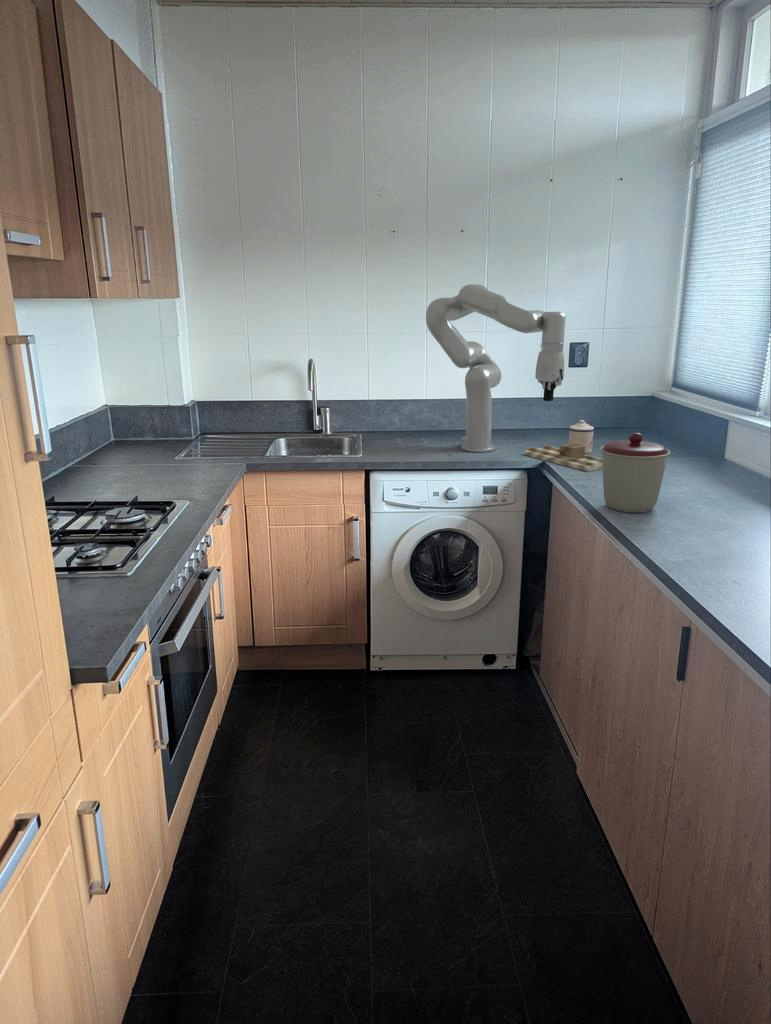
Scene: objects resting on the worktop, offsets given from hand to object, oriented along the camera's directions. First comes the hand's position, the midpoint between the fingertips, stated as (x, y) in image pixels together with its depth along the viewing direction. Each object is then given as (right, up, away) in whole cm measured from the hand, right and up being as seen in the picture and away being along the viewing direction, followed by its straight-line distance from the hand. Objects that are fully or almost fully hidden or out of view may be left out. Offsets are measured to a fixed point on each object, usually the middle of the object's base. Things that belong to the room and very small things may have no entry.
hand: (548, 400), depth 260 cm
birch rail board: (+6, -22, -1) cm, 22 cm away
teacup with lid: (+15, -17, +15) cm, 27 cm away
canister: (+9, -39, -59) cm, 71 cm away
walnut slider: (+7, -20, -4) cm, 22 cm away
